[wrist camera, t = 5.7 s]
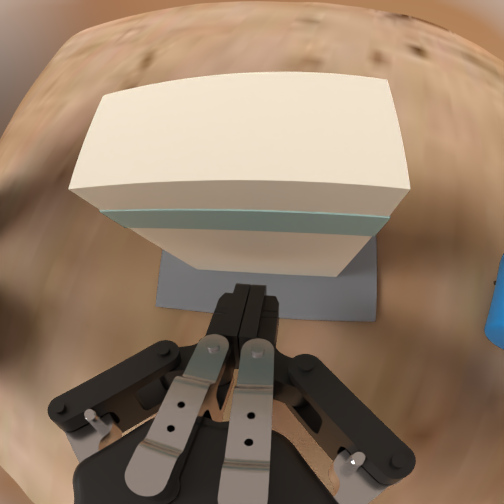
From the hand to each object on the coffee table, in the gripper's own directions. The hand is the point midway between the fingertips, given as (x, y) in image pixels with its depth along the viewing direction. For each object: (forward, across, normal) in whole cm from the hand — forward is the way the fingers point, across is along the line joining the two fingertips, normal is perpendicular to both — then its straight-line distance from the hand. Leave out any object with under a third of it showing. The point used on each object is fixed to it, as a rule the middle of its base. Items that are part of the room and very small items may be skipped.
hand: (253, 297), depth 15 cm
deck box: (+7, 0, -1) cm, 7 cm away
